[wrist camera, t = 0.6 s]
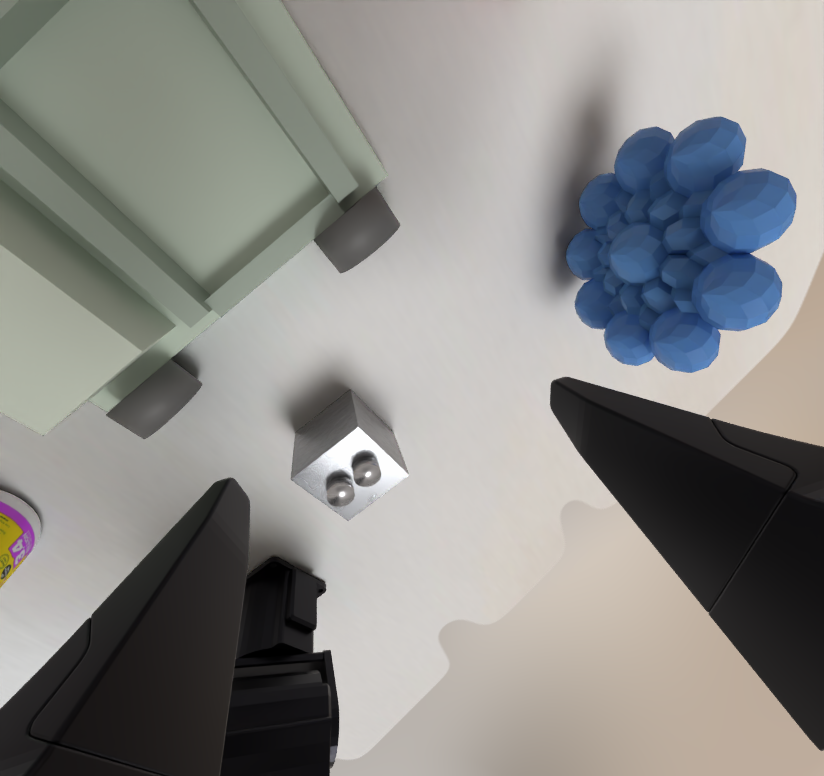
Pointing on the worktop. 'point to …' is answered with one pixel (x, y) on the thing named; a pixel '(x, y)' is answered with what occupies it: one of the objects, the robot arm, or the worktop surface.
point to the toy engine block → (347, 457)
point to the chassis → (158, 191)
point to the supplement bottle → (16, 533)
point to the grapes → (679, 245)
